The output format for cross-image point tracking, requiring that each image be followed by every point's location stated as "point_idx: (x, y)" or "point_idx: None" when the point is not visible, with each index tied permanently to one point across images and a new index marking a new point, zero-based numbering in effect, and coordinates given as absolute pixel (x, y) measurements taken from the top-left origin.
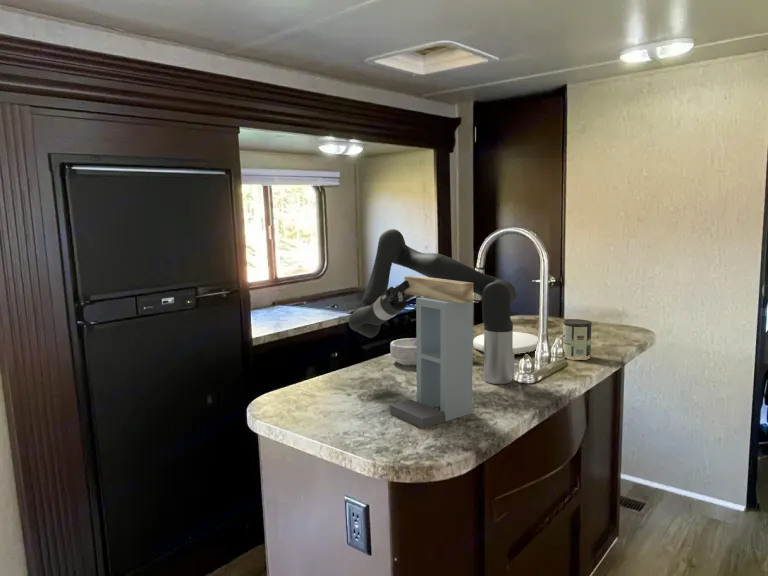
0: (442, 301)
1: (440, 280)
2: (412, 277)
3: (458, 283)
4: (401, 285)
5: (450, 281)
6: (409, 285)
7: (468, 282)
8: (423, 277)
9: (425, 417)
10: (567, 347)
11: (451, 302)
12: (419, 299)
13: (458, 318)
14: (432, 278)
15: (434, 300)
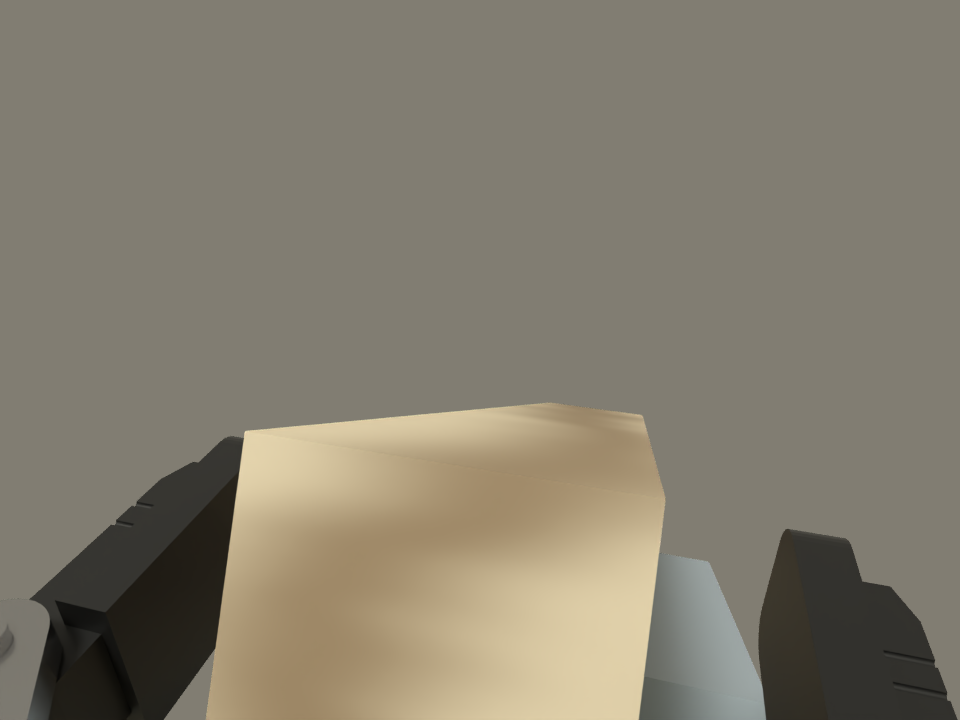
0: (679, 573)
1: (599, 418)
2: (622, 457)
3: (639, 415)
4: (924, 700)
5: (593, 413)
6: (767, 611)
7: (555, 404)
8: (483, 425)
9: None
10: None
11: None
12: (756, 687)
13: None
14: (513, 416)
15: (700, 598)
